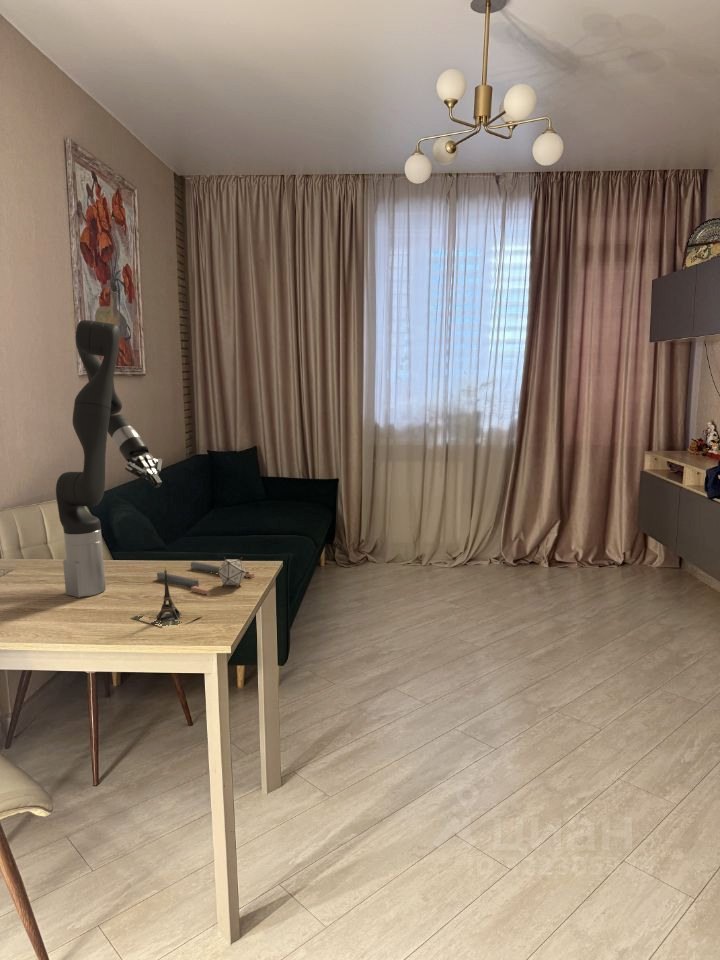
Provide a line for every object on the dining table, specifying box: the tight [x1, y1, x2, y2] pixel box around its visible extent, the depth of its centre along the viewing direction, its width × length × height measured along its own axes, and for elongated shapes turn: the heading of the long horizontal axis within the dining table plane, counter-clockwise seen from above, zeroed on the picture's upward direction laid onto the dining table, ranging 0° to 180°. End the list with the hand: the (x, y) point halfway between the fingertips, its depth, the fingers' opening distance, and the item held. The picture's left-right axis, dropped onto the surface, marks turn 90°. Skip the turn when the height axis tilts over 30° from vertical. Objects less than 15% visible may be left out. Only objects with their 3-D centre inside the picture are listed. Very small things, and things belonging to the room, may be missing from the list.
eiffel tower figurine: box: [131, 567, 182, 626], centre depth 151 cm, size 15×10×13 cm
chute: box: [156, 561, 221, 588], centre depth 184 cm, size 14×16×2 cm
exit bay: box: [190, 571, 255, 595], centre depth 177 cm, size 18×6×1 cm, turn 147°
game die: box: [215, 556, 249, 588], centre depth 175 cm, size 9×8×10 cm
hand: (158, 485), depth 190 cm, fingers closed
